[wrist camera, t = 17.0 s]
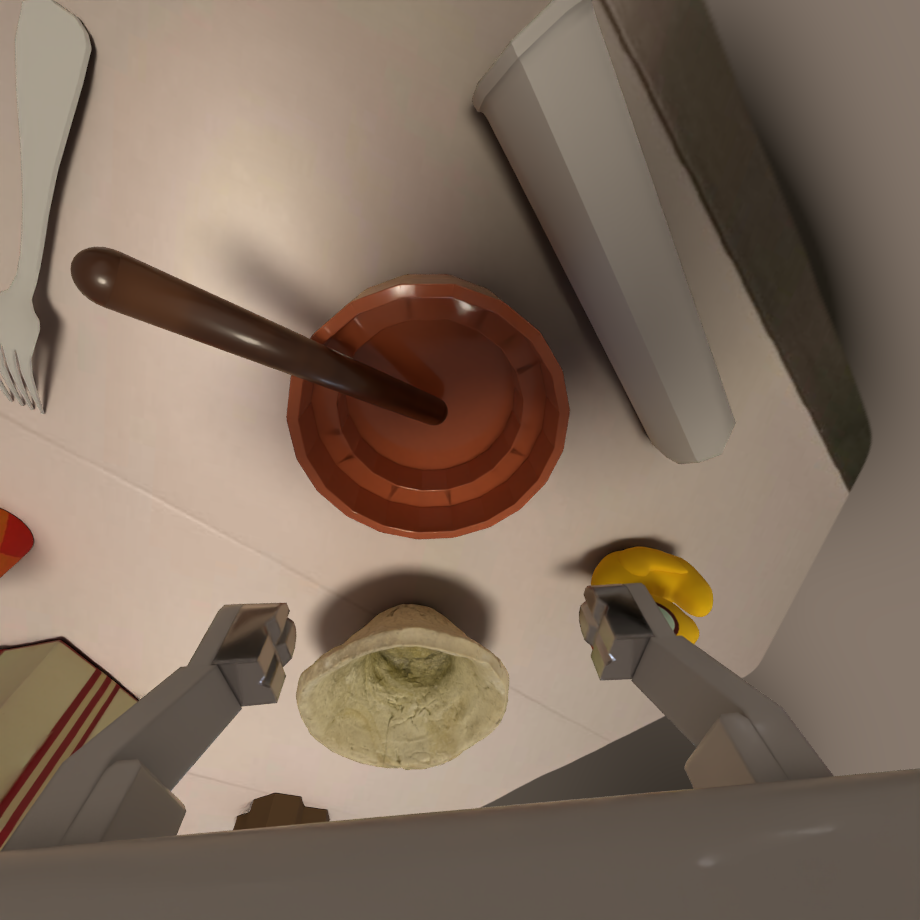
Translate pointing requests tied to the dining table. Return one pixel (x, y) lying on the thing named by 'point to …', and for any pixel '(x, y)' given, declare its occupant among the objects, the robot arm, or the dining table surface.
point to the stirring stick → (239, 331)
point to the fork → (39, 164)
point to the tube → (606, 222)
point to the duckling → (661, 584)
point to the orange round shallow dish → (468, 401)
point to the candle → (279, 813)
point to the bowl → (404, 691)
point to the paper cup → (12, 541)
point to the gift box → (47, 719)
